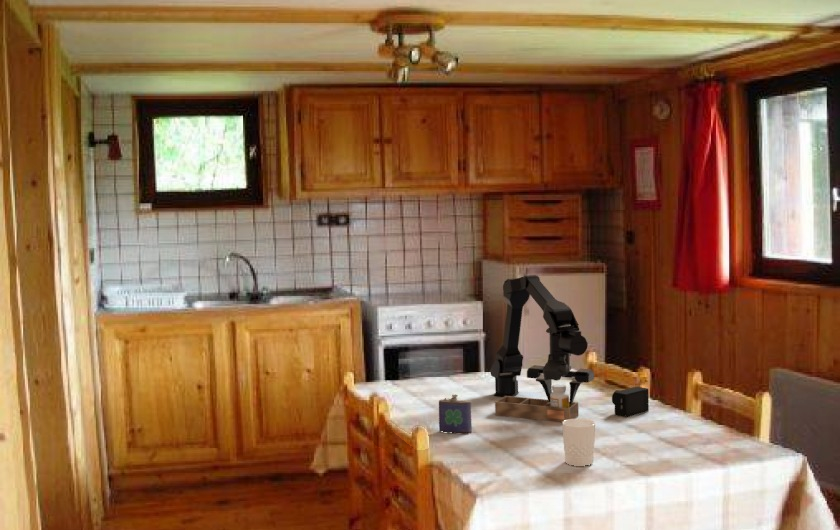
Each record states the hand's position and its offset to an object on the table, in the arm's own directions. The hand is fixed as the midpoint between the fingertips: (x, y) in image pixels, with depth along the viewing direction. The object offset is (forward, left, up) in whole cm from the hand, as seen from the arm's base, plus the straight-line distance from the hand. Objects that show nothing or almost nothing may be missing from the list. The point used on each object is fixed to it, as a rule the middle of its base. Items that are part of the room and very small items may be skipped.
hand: (560, 402), depth 259 cm
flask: (-22, -25, -5) cm, 34 cm away
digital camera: (+17, +13, -5) cm, 22 cm away
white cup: (+18, -38, -5) cm, 42 cm away
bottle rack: (-7, 0, -4) cm, 9 cm away
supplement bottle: (0, 0, -5) cm, 5 cm away
